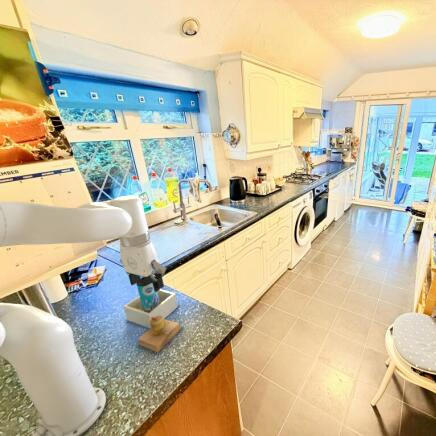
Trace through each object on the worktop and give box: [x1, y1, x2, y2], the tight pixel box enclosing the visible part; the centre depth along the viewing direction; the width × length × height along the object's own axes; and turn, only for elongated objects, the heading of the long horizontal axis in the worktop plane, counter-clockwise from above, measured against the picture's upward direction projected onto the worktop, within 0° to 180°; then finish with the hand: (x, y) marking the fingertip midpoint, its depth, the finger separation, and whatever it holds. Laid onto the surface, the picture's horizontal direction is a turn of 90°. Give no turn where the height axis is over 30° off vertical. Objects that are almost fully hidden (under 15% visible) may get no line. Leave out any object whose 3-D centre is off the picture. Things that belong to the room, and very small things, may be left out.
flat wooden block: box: [137, 318, 181, 353], centre depth 83 cm, size 10×8×3 cm
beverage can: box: [135, 276, 160, 313], centre depth 91 cm, size 6×6×15 cm
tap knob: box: [150, 316, 166, 336], centre depth 81 cm, size 4×4×5 cm
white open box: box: [123, 288, 179, 329], centre depth 93 cm, size 13×13×7 cm
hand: (147, 285), depth 75 cm, fingers open, 9 cm apart
